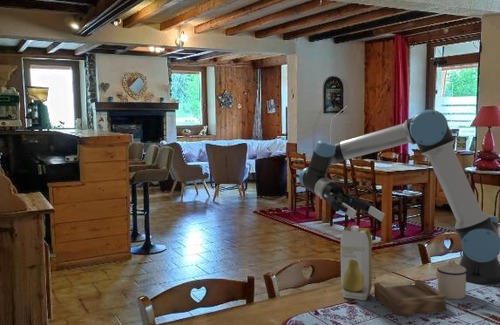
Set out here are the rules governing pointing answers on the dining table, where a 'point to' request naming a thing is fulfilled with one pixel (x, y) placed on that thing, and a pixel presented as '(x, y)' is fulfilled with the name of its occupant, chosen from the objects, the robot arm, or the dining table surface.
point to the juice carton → (356, 262)
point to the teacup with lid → (451, 280)
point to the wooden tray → (410, 298)
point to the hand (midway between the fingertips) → (369, 216)
